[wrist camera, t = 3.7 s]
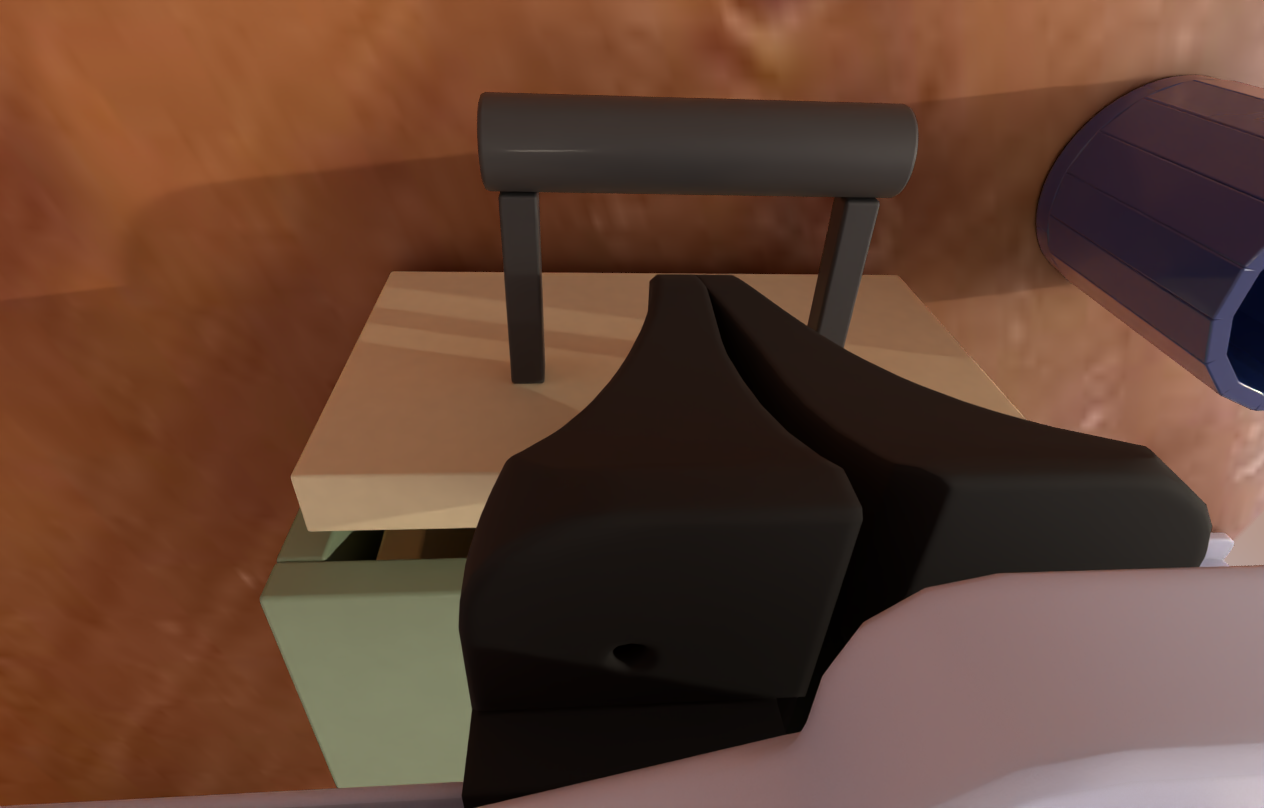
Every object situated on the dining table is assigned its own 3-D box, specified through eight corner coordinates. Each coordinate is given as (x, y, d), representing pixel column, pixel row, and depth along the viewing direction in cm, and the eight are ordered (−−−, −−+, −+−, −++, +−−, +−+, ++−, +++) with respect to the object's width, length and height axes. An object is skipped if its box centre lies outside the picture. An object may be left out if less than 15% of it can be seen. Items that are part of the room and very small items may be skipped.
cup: (1297, 77, 16) (1609, 151, 11) (1185, 282, 19) (1393, 410, 14) (1086, 70, 16) (1316, 144, 11) (1005, 281, 19) (1157, 412, 14)
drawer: (350, 37, 14) (178, 140, 8) (960, 58, 15) (1227, 162, 9) (452, 629, 24) (414, 863, 18) (800, 617, 25) (871, 836, 19)
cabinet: (384, 316, 18) (255, 599, 11) (891, 317, 19) (1091, 575, 12) (447, 656, 27) (400, 945, 19) (796, 643, 28) (879, 911, 20)
